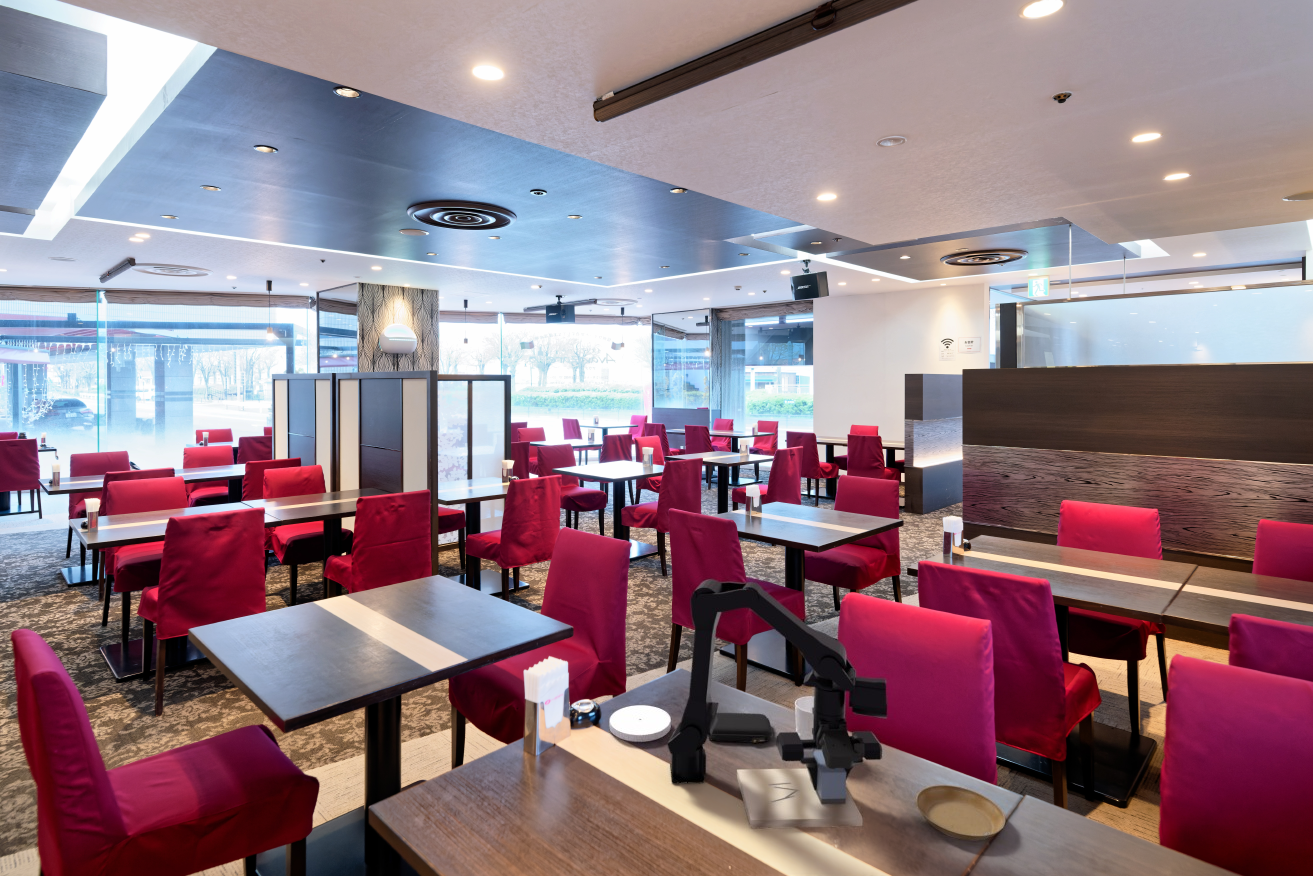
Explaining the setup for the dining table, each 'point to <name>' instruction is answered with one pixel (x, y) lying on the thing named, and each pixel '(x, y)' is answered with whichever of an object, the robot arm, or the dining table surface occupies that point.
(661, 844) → the dining table surface
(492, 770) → the dining table surface
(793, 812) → the board
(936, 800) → the plant saucer
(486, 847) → the dining table surface
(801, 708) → the white cup
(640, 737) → the plastic lid
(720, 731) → the carrying case or bag
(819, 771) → the block
